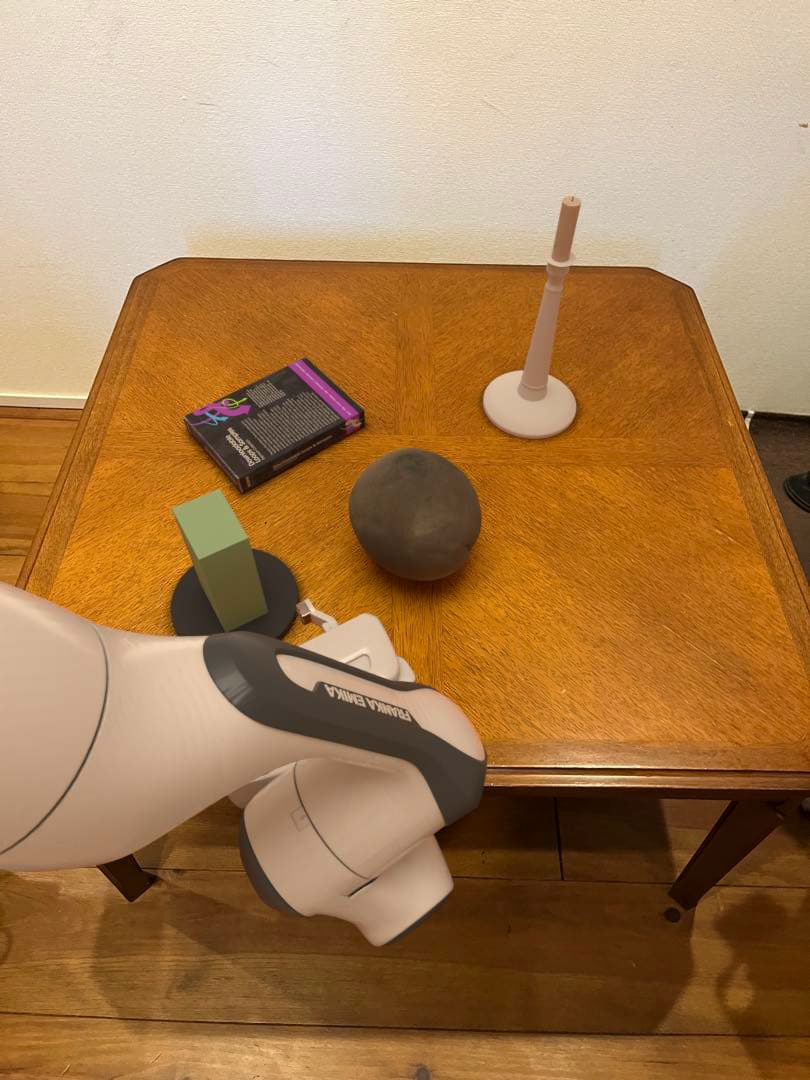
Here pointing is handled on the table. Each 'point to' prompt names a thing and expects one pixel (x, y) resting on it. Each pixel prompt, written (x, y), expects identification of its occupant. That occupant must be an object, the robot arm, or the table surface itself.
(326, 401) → the box
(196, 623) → the mat
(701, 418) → the table surface
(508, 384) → the candlestick
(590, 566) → the table surface
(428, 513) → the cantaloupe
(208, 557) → the green box
